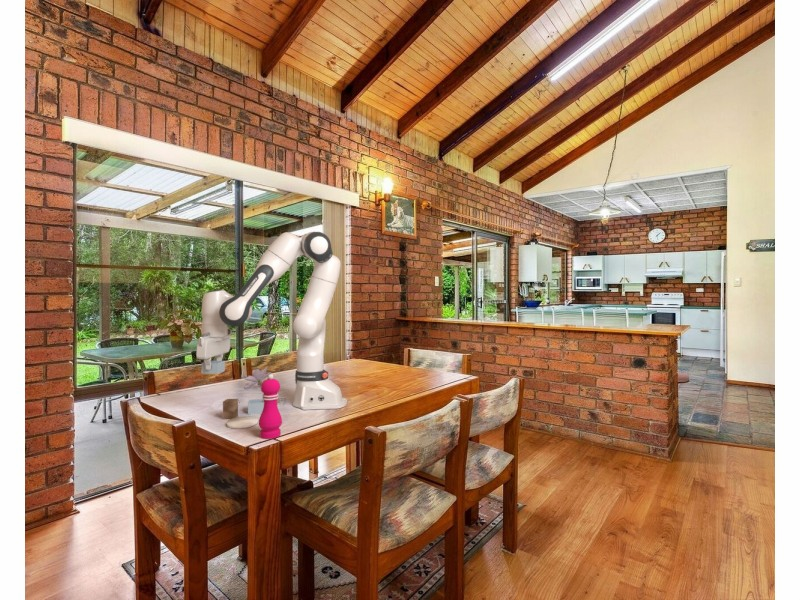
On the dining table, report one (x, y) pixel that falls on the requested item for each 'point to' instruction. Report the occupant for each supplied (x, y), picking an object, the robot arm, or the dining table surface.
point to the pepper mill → (270, 409)
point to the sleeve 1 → (214, 367)
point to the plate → (242, 422)
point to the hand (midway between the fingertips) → (213, 367)
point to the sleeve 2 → (255, 406)
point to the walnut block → (230, 408)
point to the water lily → (257, 377)
